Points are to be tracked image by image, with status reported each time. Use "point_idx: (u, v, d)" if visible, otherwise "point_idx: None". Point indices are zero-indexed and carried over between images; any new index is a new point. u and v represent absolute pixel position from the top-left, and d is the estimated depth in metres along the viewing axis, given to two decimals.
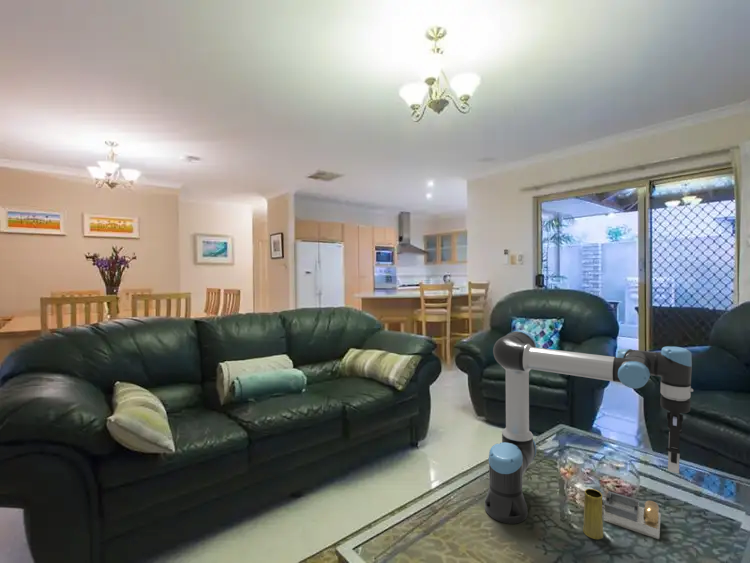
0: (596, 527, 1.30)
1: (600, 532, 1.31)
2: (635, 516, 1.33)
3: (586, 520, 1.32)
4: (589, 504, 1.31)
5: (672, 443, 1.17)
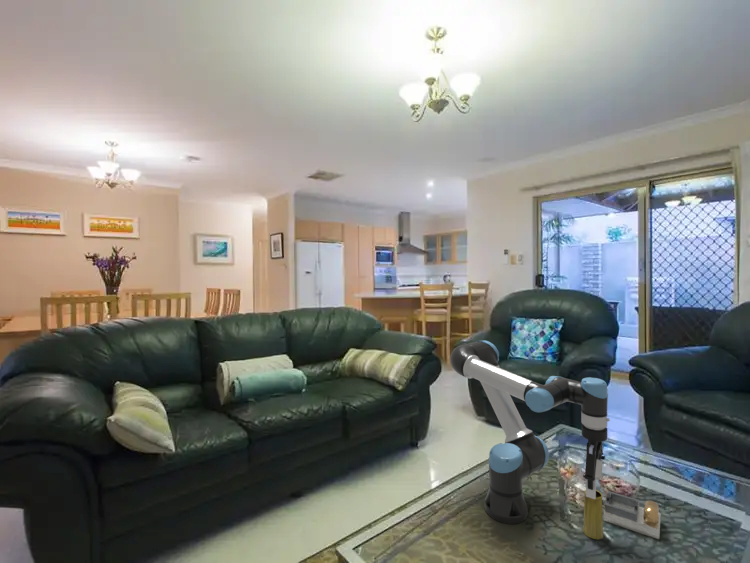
0: (596, 527, 1.30)
1: (600, 532, 1.31)
2: (635, 516, 1.33)
3: (586, 520, 1.32)
4: (589, 504, 1.31)
5: (588, 471, 1.24)
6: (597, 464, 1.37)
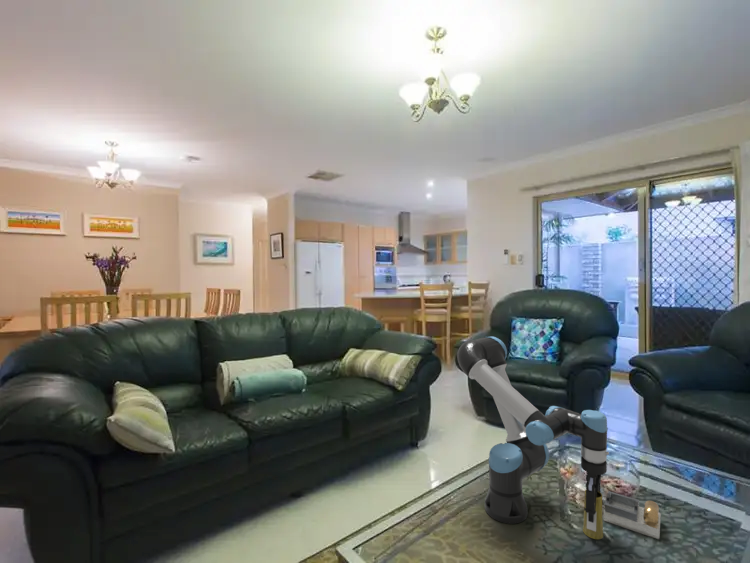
0: (596, 527, 1.30)
1: (600, 532, 1.31)
2: (635, 516, 1.33)
3: (586, 520, 1.32)
4: None
5: (588, 506, 1.27)
6: None
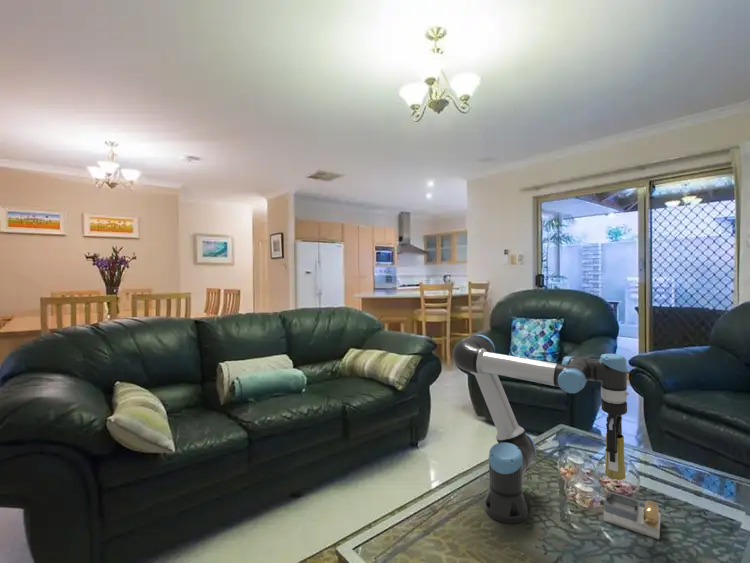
0: (618, 468, 1.32)
1: (622, 473, 1.33)
2: (635, 516, 1.33)
3: None
4: None
5: (609, 445, 1.30)
6: None
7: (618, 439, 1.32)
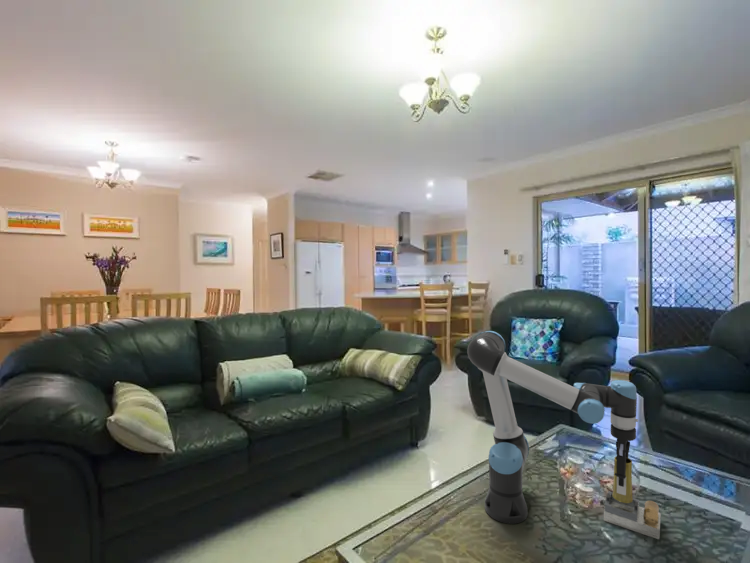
0: (626, 491, 1.37)
1: (630, 496, 1.37)
2: (635, 516, 1.33)
3: (616, 485, 1.38)
4: None
5: (619, 470, 1.34)
6: None
7: (627, 464, 1.36)
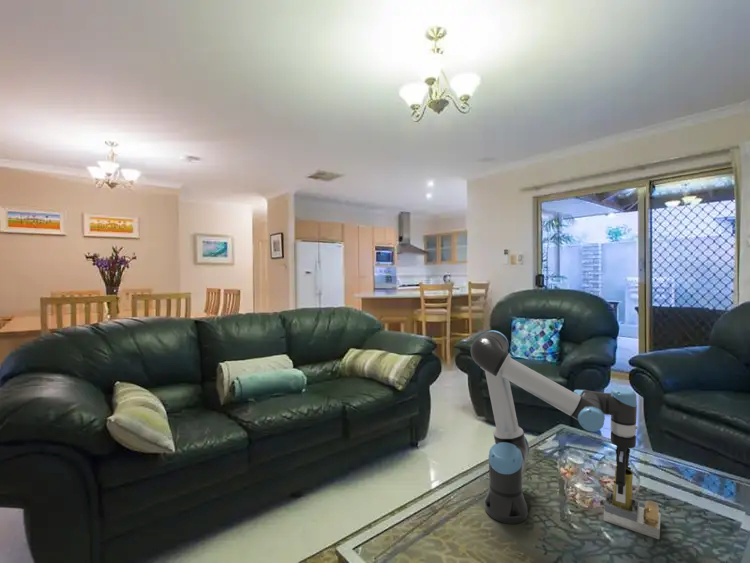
0: (626, 503, 1.37)
1: (629, 507, 1.37)
2: (635, 516, 1.33)
3: None
4: None
5: (618, 477, 1.33)
6: None
7: (628, 476, 1.36)
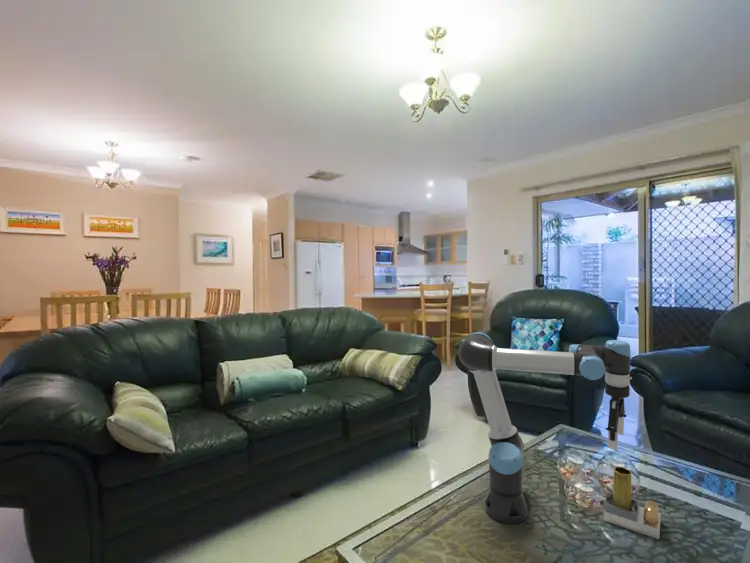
0: (626, 502, 1.37)
1: (629, 507, 1.37)
2: (635, 516, 1.33)
3: (616, 496, 1.39)
4: (619, 481, 1.38)
5: (610, 423, 1.35)
6: (619, 421, 1.47)
7: (626, 475, 1.36)
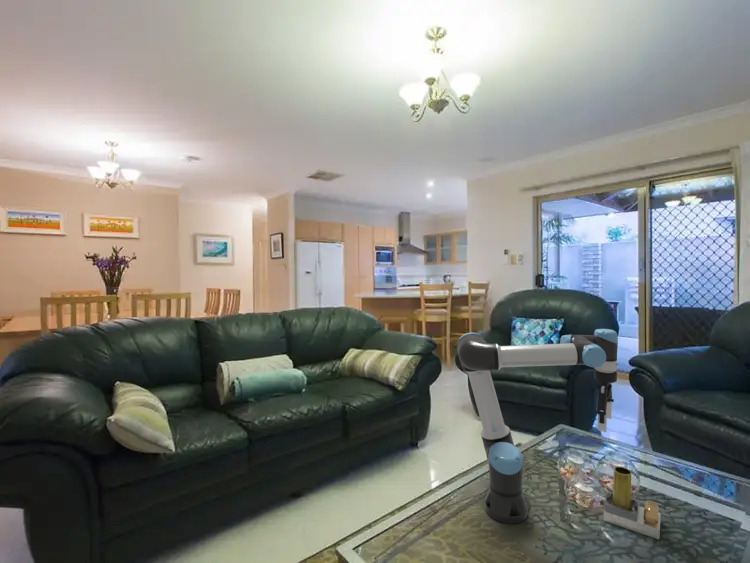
0: (626, 502, 1.37)
1: (629, 507, 1.37)
2: (635, 516, 1.33)
3: (616, 496, 1.39)
4: (619, 480, 1.38)
5: (600, 407, 1.43)
6: (607, 406, 1.56)
7: (626, 475, 1.36)
